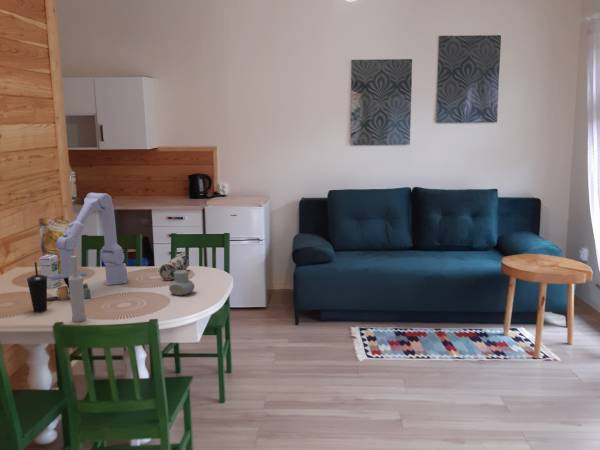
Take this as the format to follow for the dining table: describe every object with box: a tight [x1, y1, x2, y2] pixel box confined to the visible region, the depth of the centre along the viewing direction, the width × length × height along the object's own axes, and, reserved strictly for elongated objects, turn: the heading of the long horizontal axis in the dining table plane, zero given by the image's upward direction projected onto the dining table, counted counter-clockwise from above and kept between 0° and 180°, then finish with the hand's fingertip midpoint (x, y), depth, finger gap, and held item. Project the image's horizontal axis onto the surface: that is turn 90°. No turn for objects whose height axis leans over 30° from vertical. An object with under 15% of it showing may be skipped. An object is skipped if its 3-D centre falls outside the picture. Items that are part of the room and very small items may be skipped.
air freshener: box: [168, 269, 195, 296], centre depth 246 cm, size 11×8×10 cm
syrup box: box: [39, 255, 62, 289], centre depth 259 cm, size 6×6×14 cm
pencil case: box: [158, 251, 190, 281], centre depth 275 cm, size 22×8×10 cm, turn 173°
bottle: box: [68, 255, 87, 323], centre depth 213 cm, size 5×5×25 cm
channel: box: [83, 282, 92, 300], centre depth 244 cm, size 6×12×4 cm, turn 27°
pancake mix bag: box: [37, 217, 71, 274], centre depth 278 cm, size 7×19×28 cm, turn 65°
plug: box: [47, 285, 70, 302], centre depth 240 cm, size 9×4×5 cm, turn 116°
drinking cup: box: [26, 262, 48, 313], centre depth 225 cm, size 8×8×20 cm
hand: (70, 294), depth 242 cm, fingers closed
